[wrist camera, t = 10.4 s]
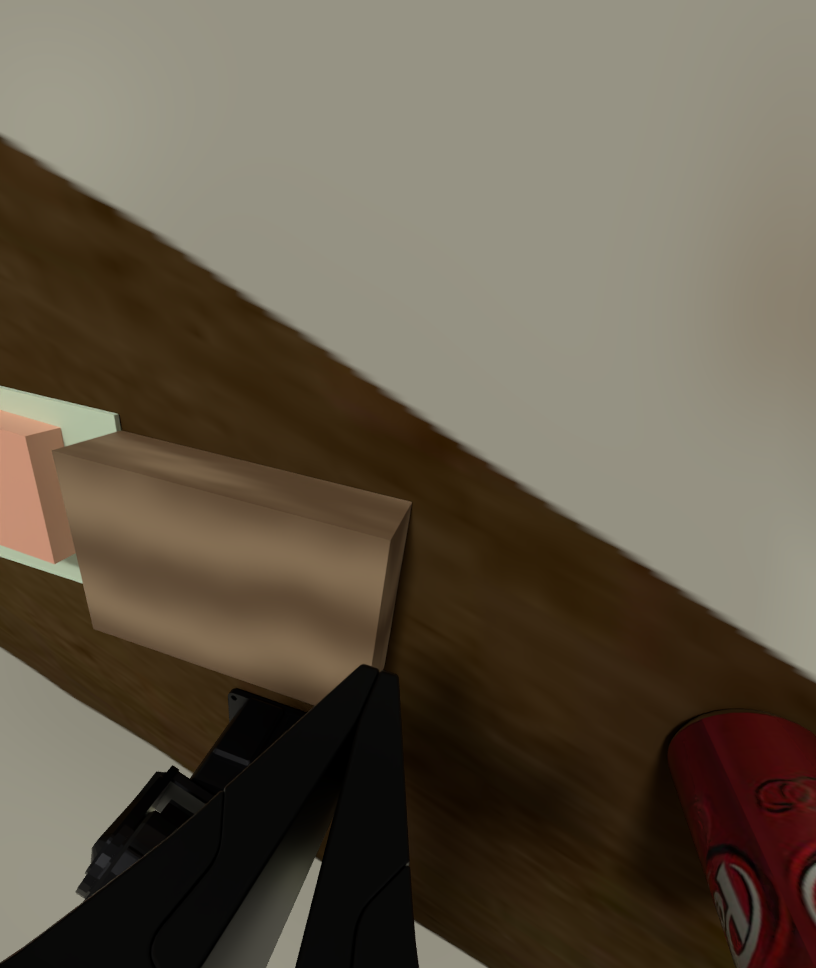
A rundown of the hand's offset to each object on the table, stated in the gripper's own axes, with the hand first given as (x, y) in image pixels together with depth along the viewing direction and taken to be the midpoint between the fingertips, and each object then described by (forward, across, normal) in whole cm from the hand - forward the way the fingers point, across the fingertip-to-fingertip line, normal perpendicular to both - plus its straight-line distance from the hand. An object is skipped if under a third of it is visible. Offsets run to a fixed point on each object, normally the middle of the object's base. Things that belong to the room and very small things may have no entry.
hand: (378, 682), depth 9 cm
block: (+10, +27, +7) cm, 30 cm away
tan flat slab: (+12, +11, +8) cm, 18 cm away
